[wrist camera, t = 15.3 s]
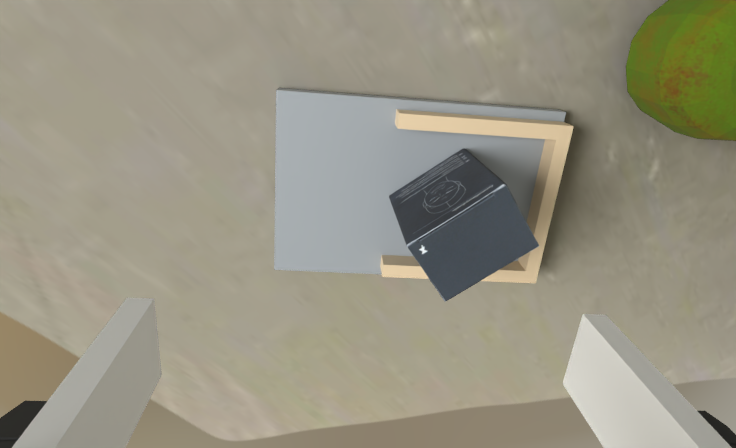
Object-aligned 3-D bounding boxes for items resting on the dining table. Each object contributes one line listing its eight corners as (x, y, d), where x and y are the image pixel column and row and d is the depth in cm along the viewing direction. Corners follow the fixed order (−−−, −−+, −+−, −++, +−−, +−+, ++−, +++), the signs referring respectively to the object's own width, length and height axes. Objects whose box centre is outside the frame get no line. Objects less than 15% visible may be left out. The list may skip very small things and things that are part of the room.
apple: (759, -6, 39) (906, -18, 29) (714, 126, 43) (829, 156, 33) (629, -18, 38) (735, -34, 28) (596, 119, 42) (678, 147, 32)
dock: (276, 262, 45) (271, 280, 42) (278, 87, 39) (273, 93, 36) (521, 272, 47) (534, 290, 44) (558, 109, 41) (577, 116, 38)
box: (419, 243, 44) (444, 304, 34) (387, 194, 42) (403, 245, 32) (495, 197, 43) (543, 247, 33) (465, 145, 41) (506, 182, 31)
